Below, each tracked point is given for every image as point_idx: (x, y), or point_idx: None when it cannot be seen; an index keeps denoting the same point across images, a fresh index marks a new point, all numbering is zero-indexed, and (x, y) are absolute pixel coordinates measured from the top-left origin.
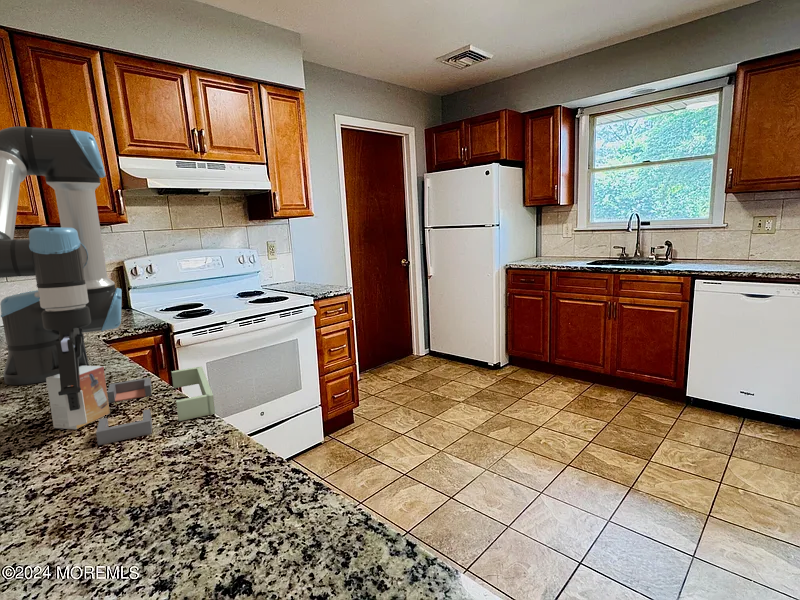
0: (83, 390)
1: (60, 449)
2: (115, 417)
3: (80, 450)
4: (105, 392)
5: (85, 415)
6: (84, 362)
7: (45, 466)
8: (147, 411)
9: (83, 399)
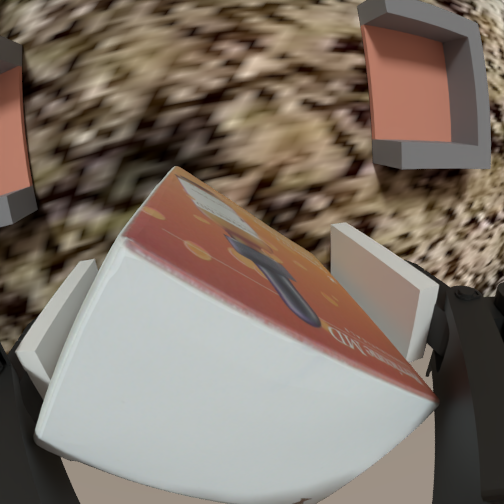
0: (332, 298)
1: (431, 255)
2: (242, 130)
3: (462, 202)
4: (177, 185)
5: (358, 233)
6: (29, 454)
7: (484, 257)
8: (405, 3)
9: (386, 264)
